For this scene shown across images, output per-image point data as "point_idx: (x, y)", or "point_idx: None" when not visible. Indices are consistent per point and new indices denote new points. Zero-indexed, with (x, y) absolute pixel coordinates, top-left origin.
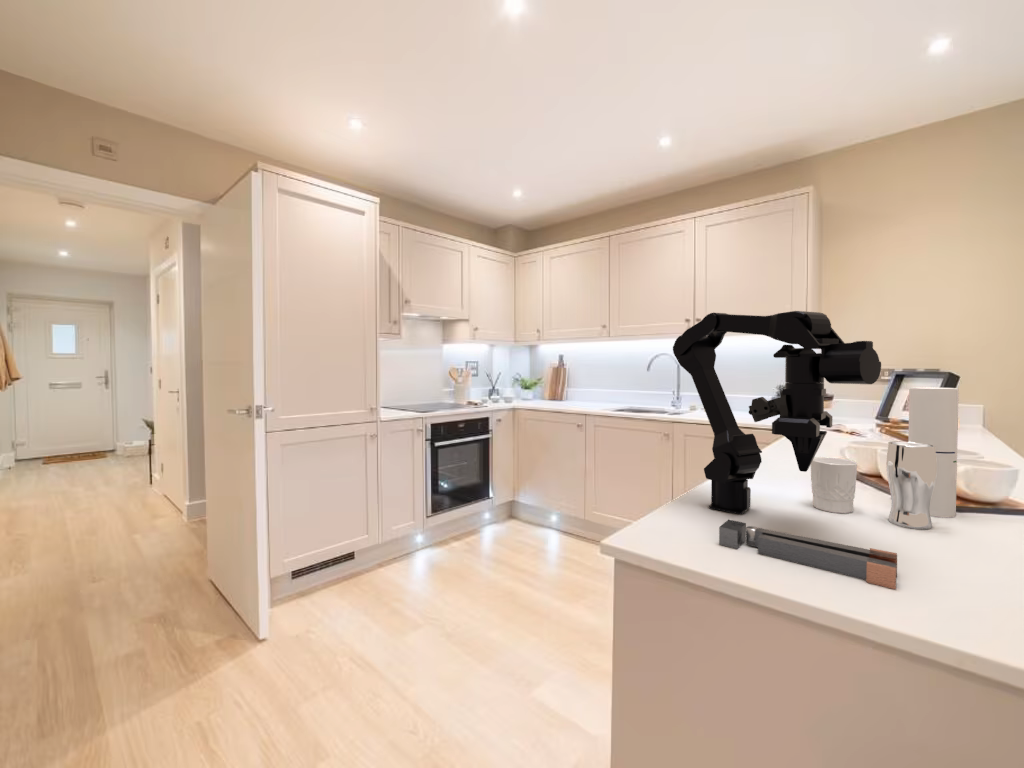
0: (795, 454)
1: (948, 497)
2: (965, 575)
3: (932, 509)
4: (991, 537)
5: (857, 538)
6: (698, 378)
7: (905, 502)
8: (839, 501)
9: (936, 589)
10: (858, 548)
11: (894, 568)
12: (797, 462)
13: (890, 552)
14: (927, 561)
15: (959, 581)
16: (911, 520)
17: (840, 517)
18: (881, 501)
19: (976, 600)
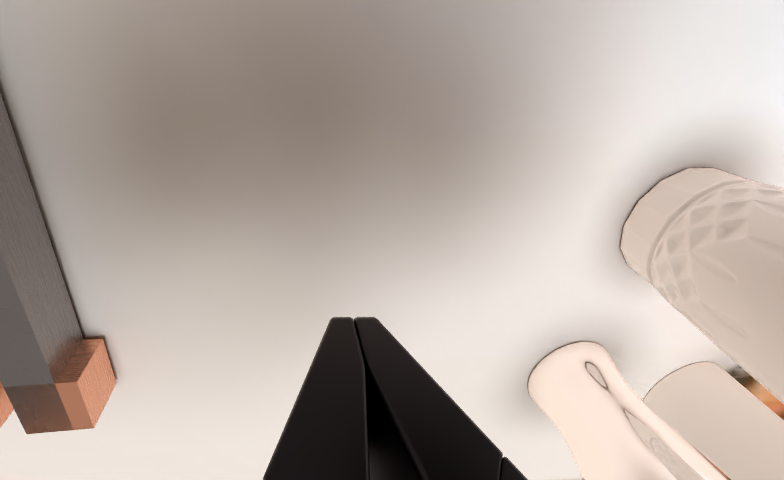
0: (272, 461)
1: None
2: (232, 455)
3: (658, 412)
4: (525, 462)
5: (368, 296)
6: None
7: (576, 427)
8: (651, 265)
9: (73, 433)
10: (30, 362)
11: None
12: (309, 370)
13: (83, 419)
14: (277, 411)
15: (179, 452)
16: (542, 394)
17: (574, 247)
18: None
19: (76, 473)
